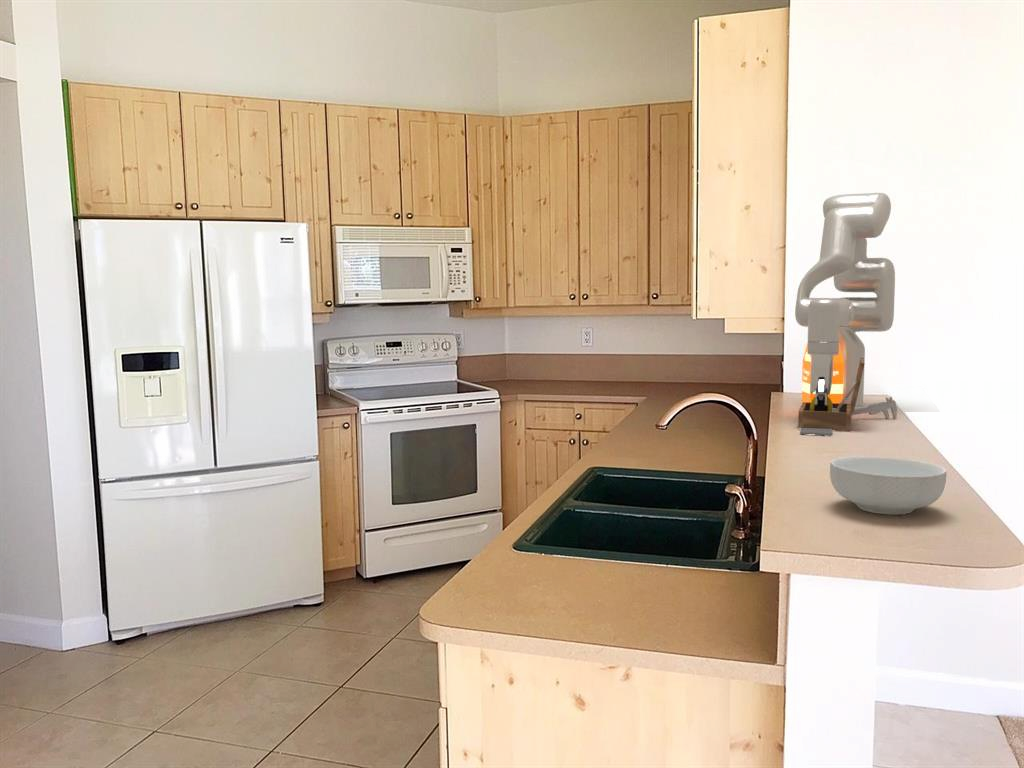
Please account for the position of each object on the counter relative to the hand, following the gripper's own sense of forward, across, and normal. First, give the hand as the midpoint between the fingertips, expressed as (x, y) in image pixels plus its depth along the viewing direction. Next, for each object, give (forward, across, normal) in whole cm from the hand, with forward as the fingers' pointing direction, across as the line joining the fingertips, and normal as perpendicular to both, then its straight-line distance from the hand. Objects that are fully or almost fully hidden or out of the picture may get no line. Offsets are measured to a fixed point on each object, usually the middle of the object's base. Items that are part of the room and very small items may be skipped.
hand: (821, 418), depth 223 cm
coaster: (+1, +14, -1) cm, 14 cm away
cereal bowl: (+2, +87, +12) cm, 88 cm away
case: (+1, 0, +2) cm, 3 cm away
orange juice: (+2, -21, -1) cm, 21 cm away
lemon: (+2, 0, 0) cm, 2 cm away
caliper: (+2, -13, +8) cm, 16 cm away
